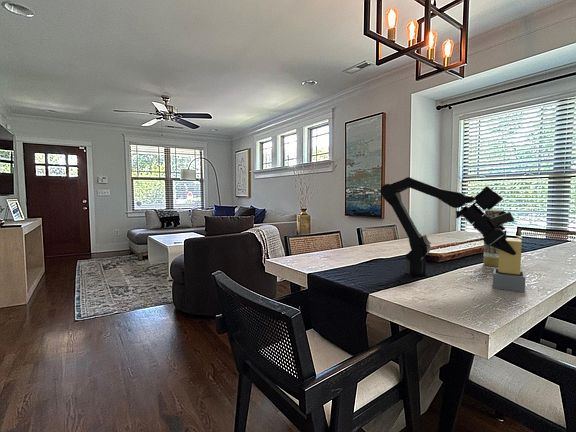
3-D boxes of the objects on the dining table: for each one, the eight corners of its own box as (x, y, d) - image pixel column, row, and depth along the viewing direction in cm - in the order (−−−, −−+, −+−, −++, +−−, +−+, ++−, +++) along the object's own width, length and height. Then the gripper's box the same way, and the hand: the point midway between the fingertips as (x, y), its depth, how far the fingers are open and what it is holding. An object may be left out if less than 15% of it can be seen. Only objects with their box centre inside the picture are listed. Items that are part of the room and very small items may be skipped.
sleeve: (492, 287, 106) (493, 273, 106) (493, 281, 113) (494, 268, 113) (524, 292, 101) (525, 277, 101) (524, 285, 108) (524, 271, 108)
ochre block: (498, 272, 106) (499, 240, 105) (498, 268, 111) (500, 238, 110) (520, 274, 103) (521, 241, 102) (519, 270, 108) (521, 239, 107)
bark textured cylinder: (505, 267, 136) (507, 209, 134) (489, 267, 136) (491, 210, 134) (494, 263, 142) (496, 209, 141) (480, 263, 142) (481, 209, 141)
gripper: (497, 204, 100) (539, 241, 94) (499, 202, 115) (535, 234, 109) (468, 227, 105) (506, 263, 100) (473, 222, 120) (507, 254, 115)
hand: (514, 252), depth 106 cm, fingers closed on ochre block, 6 cm apart
